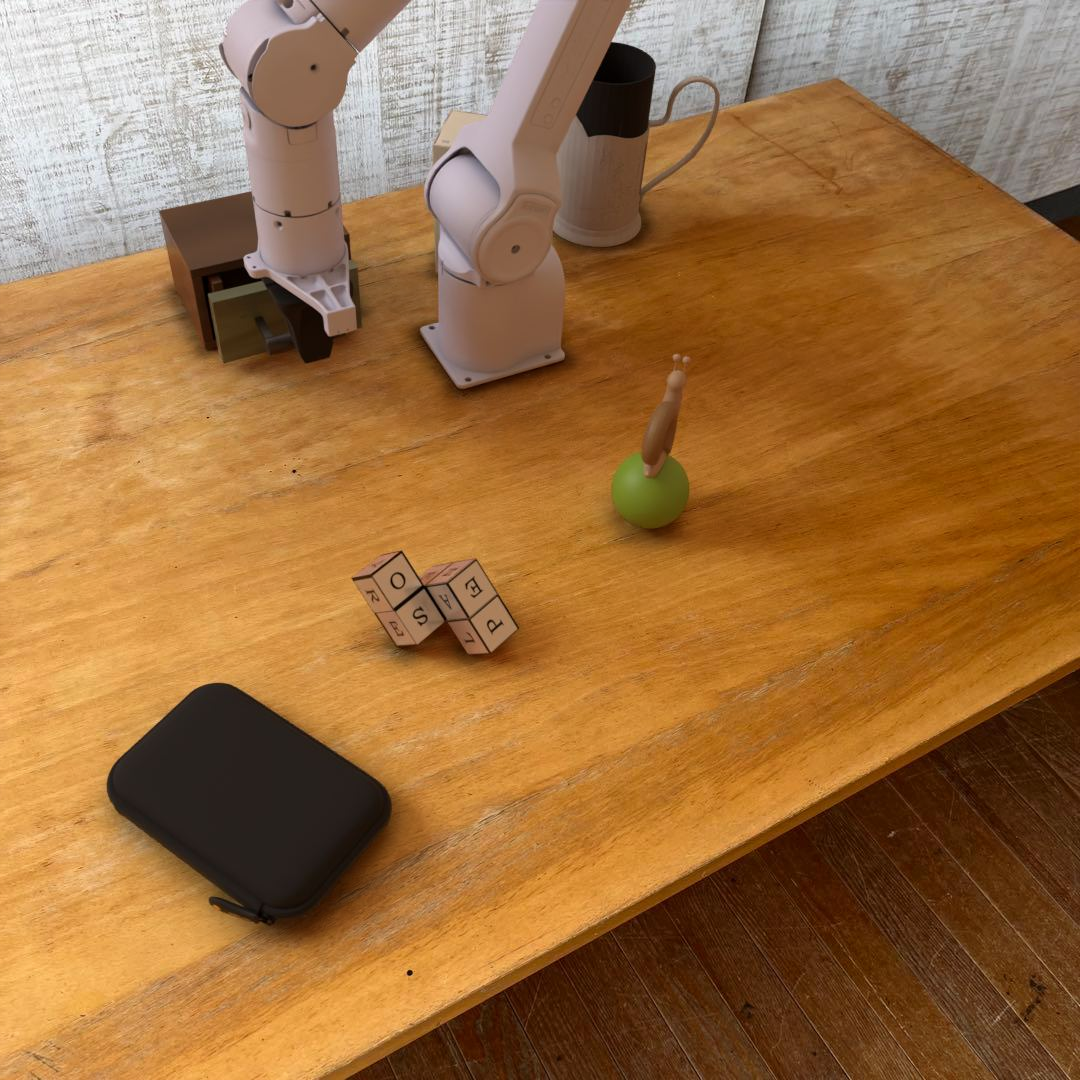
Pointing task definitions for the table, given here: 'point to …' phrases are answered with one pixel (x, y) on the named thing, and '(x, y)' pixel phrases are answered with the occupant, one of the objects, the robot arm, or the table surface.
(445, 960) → the table surface
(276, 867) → the carrying case
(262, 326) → the drawer
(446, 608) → the building blocks
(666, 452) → the snail figurine
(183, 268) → the cabinet
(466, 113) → the cosmetic box
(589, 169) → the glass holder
